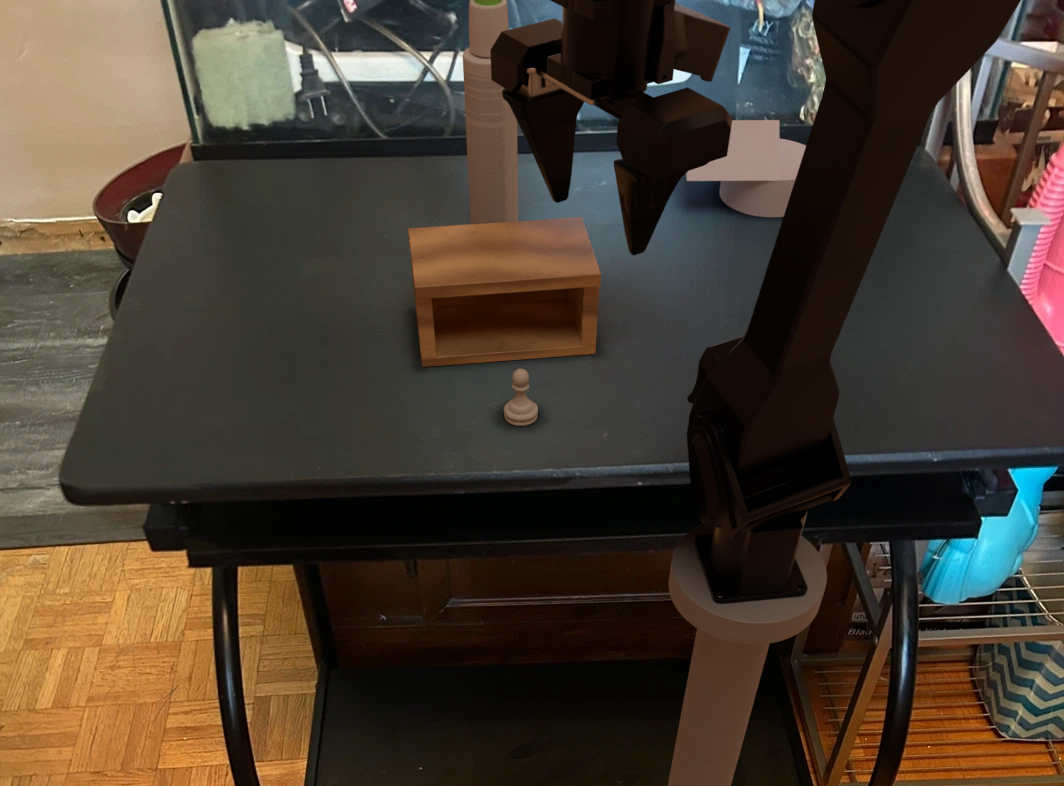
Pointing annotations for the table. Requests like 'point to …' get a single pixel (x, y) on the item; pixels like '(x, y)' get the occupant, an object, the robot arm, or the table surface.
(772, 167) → the wedge on round base
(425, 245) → the shelf
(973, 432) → the table surface
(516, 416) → the pawn
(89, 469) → the table surface
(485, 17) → the bottle
